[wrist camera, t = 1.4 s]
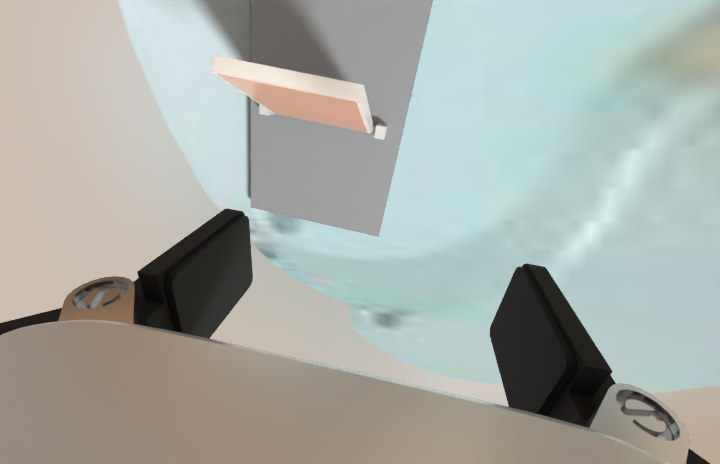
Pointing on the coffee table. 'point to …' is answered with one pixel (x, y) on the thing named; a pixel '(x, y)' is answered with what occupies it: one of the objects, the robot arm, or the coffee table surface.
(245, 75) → the tile
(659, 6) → the coffee table surface
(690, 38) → the coffee table surface
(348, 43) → the board
